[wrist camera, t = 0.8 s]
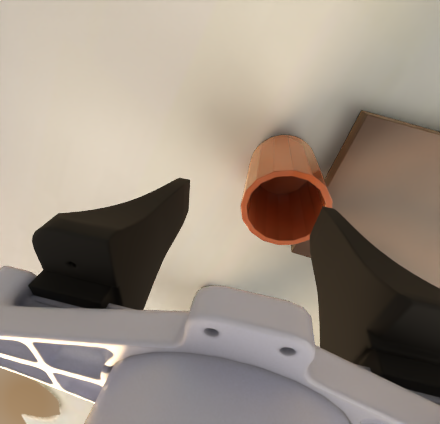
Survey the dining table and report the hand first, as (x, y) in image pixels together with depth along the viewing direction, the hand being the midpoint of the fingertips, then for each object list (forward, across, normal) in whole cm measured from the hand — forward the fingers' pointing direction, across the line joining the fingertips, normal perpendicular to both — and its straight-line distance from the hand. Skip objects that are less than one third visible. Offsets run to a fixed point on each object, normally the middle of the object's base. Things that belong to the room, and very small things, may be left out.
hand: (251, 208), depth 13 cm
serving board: (+10, -16, +4) cm, 19 cm away
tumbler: (+10, -2, +1) cm, 10 cm away
